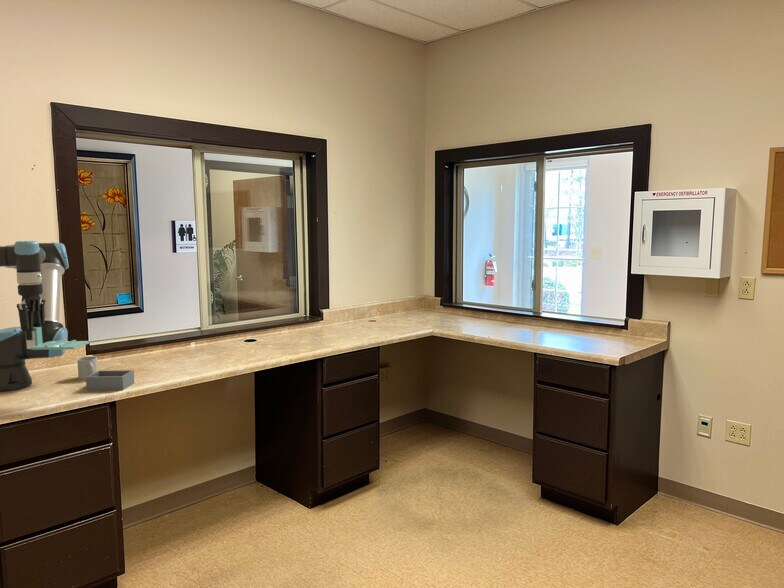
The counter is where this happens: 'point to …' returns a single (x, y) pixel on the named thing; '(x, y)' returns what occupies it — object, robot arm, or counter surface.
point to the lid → (54, 342)
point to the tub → (110, 380)
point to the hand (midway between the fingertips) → (34, 347)
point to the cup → (86, 367)
